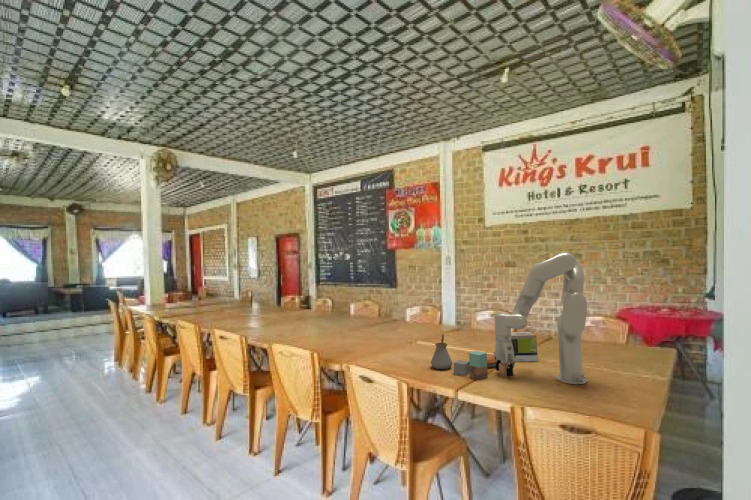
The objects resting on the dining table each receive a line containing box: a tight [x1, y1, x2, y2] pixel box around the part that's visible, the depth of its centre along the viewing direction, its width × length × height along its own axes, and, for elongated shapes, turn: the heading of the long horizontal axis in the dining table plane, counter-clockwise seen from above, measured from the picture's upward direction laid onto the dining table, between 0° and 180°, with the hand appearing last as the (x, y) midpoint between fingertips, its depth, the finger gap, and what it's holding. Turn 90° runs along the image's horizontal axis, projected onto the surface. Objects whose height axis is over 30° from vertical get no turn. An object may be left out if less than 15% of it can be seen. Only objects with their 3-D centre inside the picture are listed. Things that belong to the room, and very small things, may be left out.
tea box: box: [511, 331, 539, 363], centre depth 214 cm, size 15×10×15 cm
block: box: [453, 359, 470, 377], centre depth 191 cm, size 6×6×6 cm
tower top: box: [468, 350, 488, 368], centre depth 185 cm, size 6×6×6 cm
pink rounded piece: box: [498, 361, 511, 379], centre depth 186 cm, size 5×5×6 cm
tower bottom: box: [469, 366, 489, 381], centre depth 185 cm, size 6×6×6 cm
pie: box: [487, 353, 496, 369], centre depth 206 cm, size 16×16×5 cm
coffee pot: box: [430, 334, 453, 370], centre depth 207 cm, size 21×12×15 cm, turn 165°
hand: (504, 373), depth 186 cm, fingers open, 8 cm apart
